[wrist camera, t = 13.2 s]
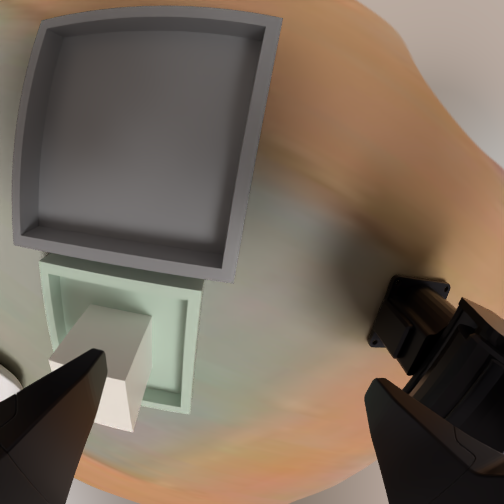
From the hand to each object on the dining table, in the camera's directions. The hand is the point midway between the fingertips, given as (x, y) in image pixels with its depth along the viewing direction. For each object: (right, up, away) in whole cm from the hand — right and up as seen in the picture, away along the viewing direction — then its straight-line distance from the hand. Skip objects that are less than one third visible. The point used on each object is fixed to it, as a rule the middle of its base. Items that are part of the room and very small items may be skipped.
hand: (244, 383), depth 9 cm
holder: (-10, -2, +13) cm, 16 cm away
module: (-10, -2, +12) cm, 16 cm away
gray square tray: (-7, +12, +8) cm, 16 cm away
